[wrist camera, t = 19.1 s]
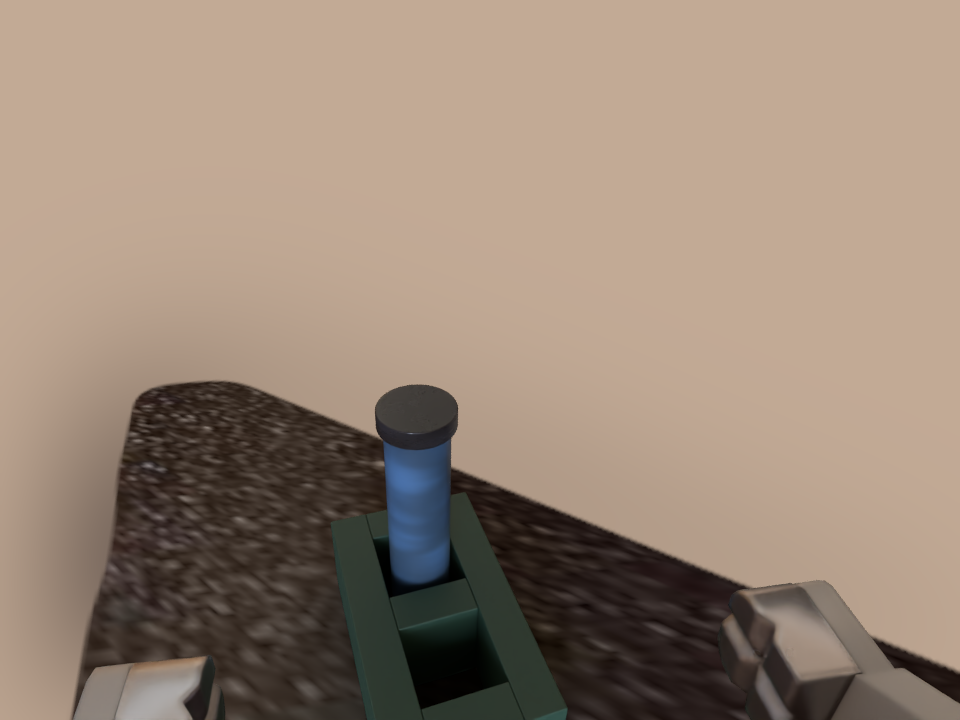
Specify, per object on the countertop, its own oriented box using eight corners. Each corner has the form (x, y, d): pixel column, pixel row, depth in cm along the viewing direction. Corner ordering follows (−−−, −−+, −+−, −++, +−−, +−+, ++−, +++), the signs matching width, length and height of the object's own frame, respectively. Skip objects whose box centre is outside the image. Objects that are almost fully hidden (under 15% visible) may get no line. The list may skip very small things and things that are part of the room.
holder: (390, 829, 29) (385, 770, 27) (337, 580, 41) (330, 521, 38) (557, 768, 32) (568, 708, 29) (464, 549, 43) (465, 491, 40)
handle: (397, 654, 37) (385, 440, 29) (381, 599, 40) (367, 391, 32) (462, 635, 38) (469, 423, 30) (443, 583, 41) (444, 378, 33)
